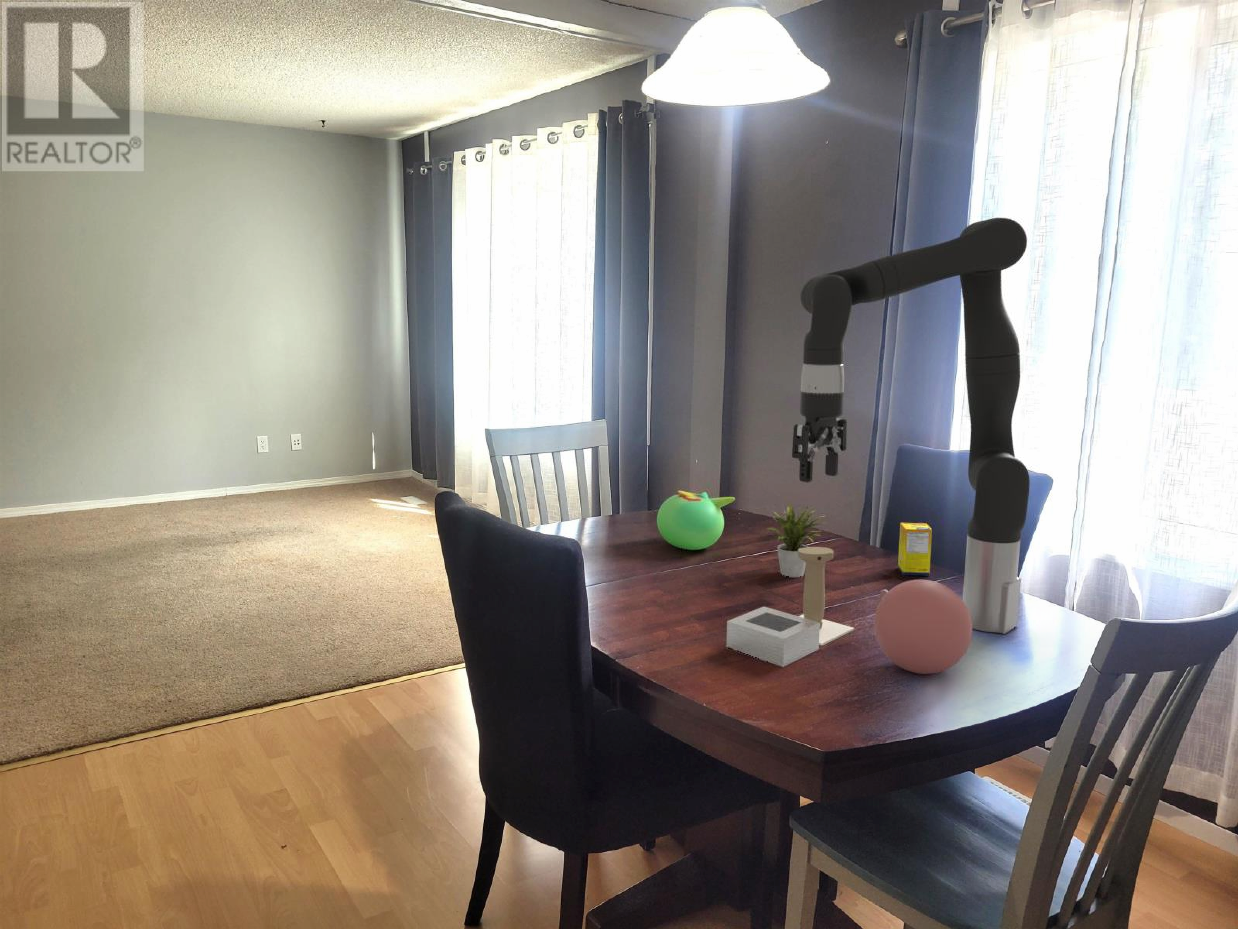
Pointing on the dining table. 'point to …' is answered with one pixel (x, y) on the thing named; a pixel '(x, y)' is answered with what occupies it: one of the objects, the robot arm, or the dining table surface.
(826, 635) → the mat
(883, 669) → the dining table surface
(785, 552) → the house plant
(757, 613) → the collar
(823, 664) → the dining table surface
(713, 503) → the toy bird
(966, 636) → the balloon
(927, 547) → the supplement box
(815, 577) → the handle
